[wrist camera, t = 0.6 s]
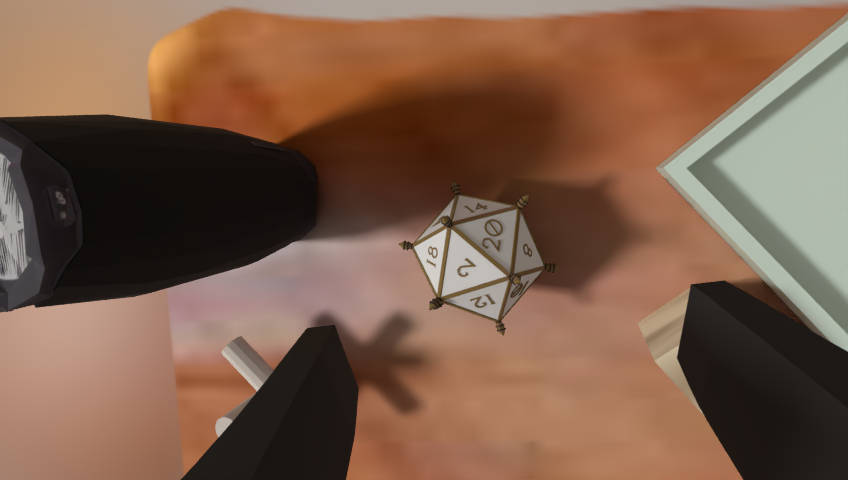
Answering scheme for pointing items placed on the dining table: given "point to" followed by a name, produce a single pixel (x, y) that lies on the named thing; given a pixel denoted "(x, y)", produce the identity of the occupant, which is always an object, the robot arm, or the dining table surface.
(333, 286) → the dining table surface
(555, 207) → the dining table surface
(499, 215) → the game die
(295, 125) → the dining table surface
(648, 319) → the maple block
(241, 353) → the pipe connector
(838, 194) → the sorting tray
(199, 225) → the portable speaker
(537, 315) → the dining table surface
